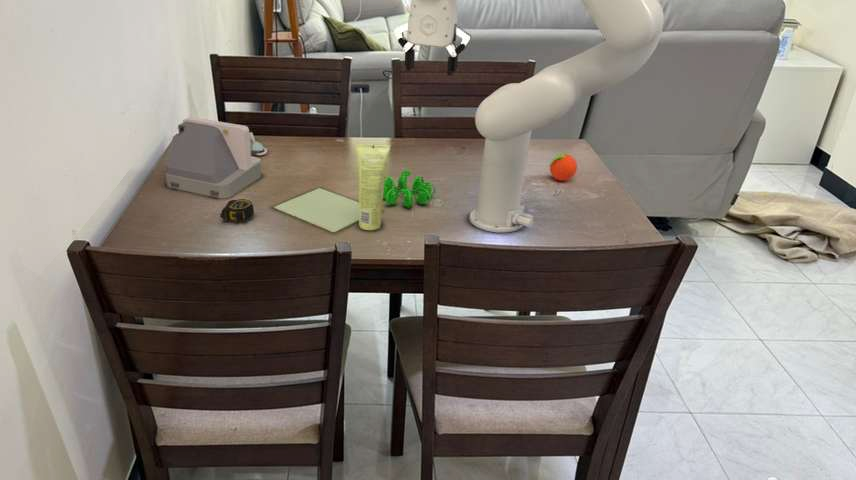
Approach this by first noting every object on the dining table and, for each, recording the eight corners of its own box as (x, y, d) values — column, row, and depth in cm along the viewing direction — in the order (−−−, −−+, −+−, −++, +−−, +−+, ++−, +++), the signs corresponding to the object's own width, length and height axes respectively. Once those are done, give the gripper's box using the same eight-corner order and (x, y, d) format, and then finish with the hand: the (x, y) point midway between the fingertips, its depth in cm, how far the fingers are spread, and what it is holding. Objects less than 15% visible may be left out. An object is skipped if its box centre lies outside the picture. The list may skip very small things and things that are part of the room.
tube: (373, 219, 158) (375, 138, 148) (387, 226, 154) (390, 144, 145) (354, 225, 155) (355, 143, 145) (368, 233, 151) (370, 150, 141)
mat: (379, 210, 162) (379, 209, 162) (334, 232, 151) (334, 231, 151) (319, 189, 173) (319, 187, 173) (273, 208, 163) (273, 206, 163)
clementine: (555, 186, 176) (559, 160, 172) (539, 177, 182) (543, 152, 178) (580, 182, 179) (584, 157, 175) (563, 173, 184) (568, 148, 181)
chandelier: (410, 216, 159) (412, 189, 156) (362, 199, 168) (363, 173, 164) (446, 197, 169) (448, 171, 166) (399, 182, 178) (400, 157, 174)
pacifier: (268, 149, 199) (247, 148, 199) (267, 128, 196) (246, 128, 196) (266, 157, 193) (245, 157, 192) (266, 136, 190) (244, 136, 189)
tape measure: (230, 211, 161) (229, 196, 159) (258, 213, 160) (256, 199, 158) (220, 223, 155) (219, 208, 153) (249, 225, 154) (247, 210, 152)
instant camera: (270, 178, 179) (267, 122, 172) (215, 203, 164) (209, 144, 157) (213, 161, 189) (207, 108, 182) (156, 184, 175) (147, 128, 167)
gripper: (390, -13, 141) (387, 71, 149) (469, -7, 134) (462, 80, 143) (403, -17, 146) (400, 64, 155) (480, -12, 140) (472, 72, 149)
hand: (430, 71), depth 149 cm, fingers open, 9 cm apart
